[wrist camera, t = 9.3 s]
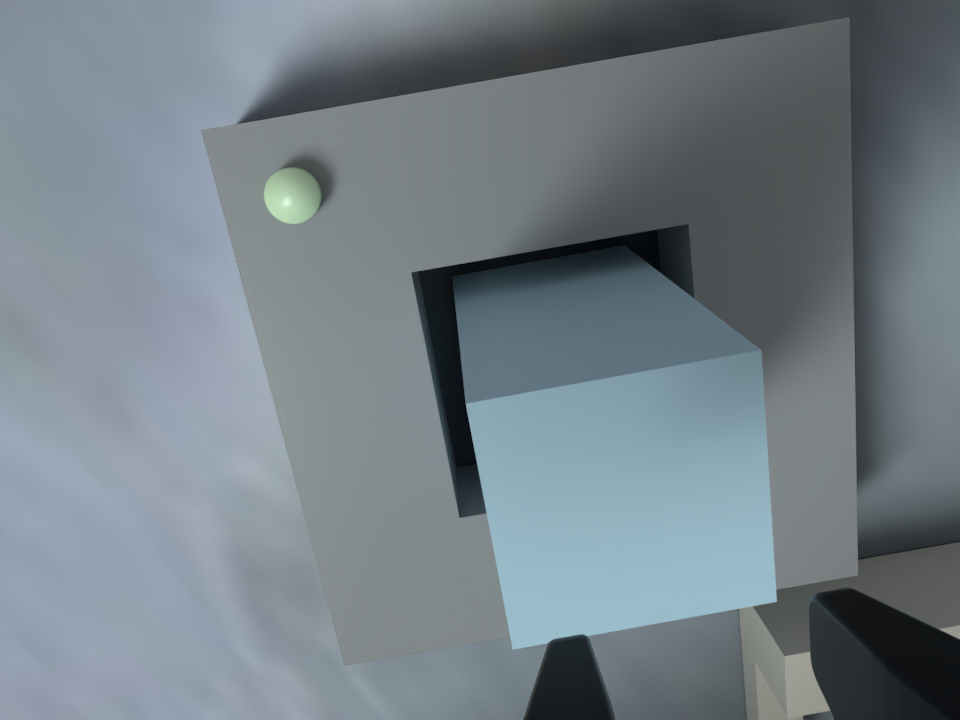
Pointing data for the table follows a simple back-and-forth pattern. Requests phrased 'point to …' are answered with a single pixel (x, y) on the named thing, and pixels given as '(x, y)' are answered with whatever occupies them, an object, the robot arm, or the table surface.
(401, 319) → the socket
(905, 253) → the table surface
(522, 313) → the plug
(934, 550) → the grey square frame
